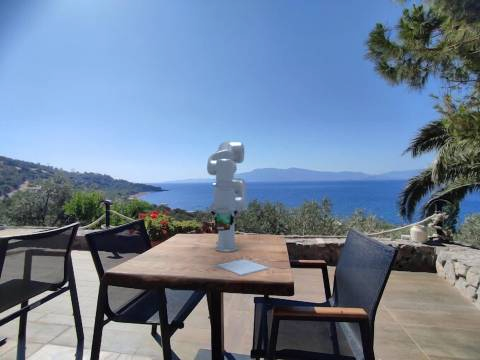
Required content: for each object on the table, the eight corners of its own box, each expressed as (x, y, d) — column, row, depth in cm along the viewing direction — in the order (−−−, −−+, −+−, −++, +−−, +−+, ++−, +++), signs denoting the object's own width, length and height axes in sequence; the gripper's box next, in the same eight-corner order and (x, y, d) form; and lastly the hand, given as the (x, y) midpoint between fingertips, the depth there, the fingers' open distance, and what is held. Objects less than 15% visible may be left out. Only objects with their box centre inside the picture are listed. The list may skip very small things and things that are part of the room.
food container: (230, 231, 122) (230, 208, 122) (216, 231, 123) (216, 208, 123) (234, 227, 134) (234, 206, 134) (222, 227, 135) (222, 206, 135)
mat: (216, 266, 130) (217, 264, 130) (243, 260, 139) (243, 259, 139) (241, 276, 115) (241, 274, 115) (269, 268, 125) (269, 267, 125)
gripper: (205, 185, 124) (205, 226, 123) (244, 185, 126) (244, 225, 126) (205, 185, 131) (205, 224, 131) (241, 185, 134) (241, 223, 133)
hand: (224, 224), depth 128 cm, fingers closed on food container, 5 cm apart
